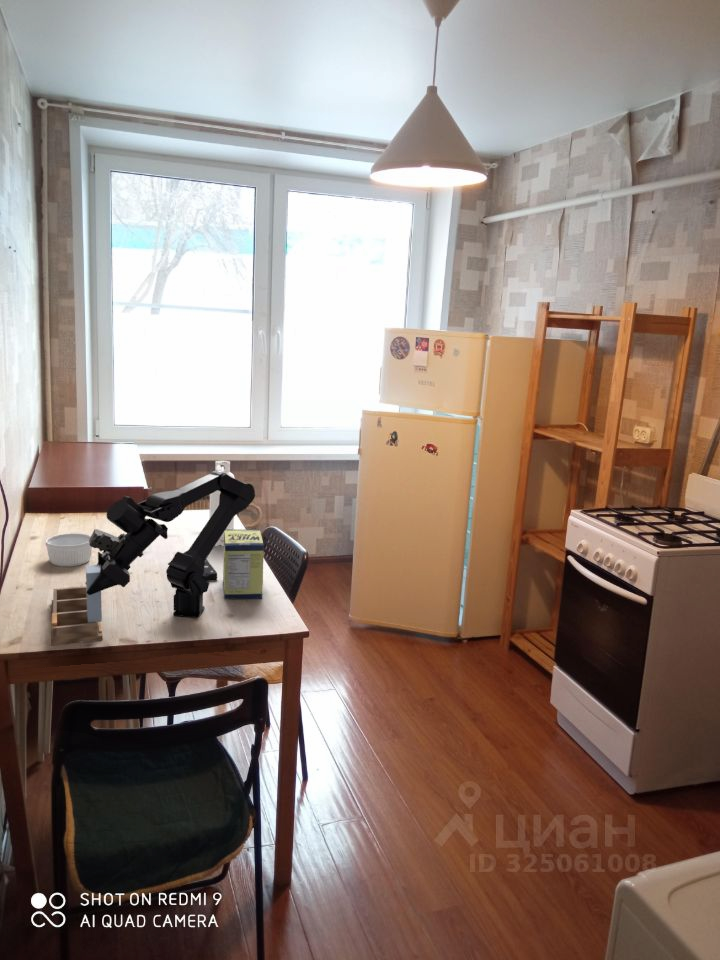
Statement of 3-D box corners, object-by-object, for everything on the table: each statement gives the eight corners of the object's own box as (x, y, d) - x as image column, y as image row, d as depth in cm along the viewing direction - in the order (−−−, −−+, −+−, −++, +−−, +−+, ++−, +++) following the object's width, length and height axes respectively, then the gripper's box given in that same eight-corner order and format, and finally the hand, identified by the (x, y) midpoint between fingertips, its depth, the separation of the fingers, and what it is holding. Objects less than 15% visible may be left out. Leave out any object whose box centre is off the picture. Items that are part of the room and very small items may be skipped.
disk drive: (218, 582, 206) (205, 565, 219) (218, 573, 206) (205, 556, 219) (182, 585, 202) (171, 568, 215) (182, 576, 201) (171, 559, 214)
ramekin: (41, 568, 207) (41, 545, 206) (51, 554, 220) (50, 532, 218) (89, 568, 210) (89, 545, 208) (96, 554, 222) (96, 532, 221)
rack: (97, 599, 187) (96, 583, 186) (102, 639, 164) (102, 621, 163) (51, 603, 182) (51, 586, 181) (50, 645, 160) (50, 626, 159)
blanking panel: (100, 612, 170) (99, 564, 167) (101, 621, 165) (100, 572, 162) (86, 613, 168) (85, 565, 166) (87, 622, 163) (86, 573, 161)
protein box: (258, 579, 209) (260, 528, 206) (262, 599, 194) (264, 544, 191) (222, 580, 207) (223, 528, 203) (224, 600, 192) (225, 545, 189)
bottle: (236, 540, 244) (238, 460, 239) (228, 547, 237) (230, 465, 231) (214, 538, 246) (215, 458, 240) (205, 544, 238) (206, 462, 232)
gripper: (107, 508, 171) (59, 555, 169) (113, 529, 155) (60, 581, 153) (141, 537, 176) (95, 583, 174) (151, 561, 159) (99, 612, 157)
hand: (87, 589), depth 164 cm, fingers closed on blanking panel, 5 cm apart
